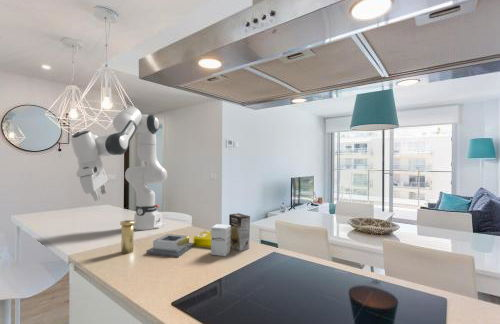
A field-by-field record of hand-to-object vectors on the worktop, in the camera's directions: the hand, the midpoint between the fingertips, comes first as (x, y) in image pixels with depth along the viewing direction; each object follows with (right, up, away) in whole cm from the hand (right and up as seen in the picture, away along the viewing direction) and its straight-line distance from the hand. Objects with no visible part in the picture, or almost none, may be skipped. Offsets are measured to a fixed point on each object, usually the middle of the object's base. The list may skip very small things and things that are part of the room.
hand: (100, 196), depth 117 cm
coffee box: (+63, -27, +10) cm, 69 cm away
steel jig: (+31, -26, +5) cm, 41 cm away
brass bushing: (+12, -26, +1) cm, 28 cm away
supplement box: (+55, -27, +1) cm, 61 cm away
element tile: (+48, -27, +17) cm, 58 cm away
